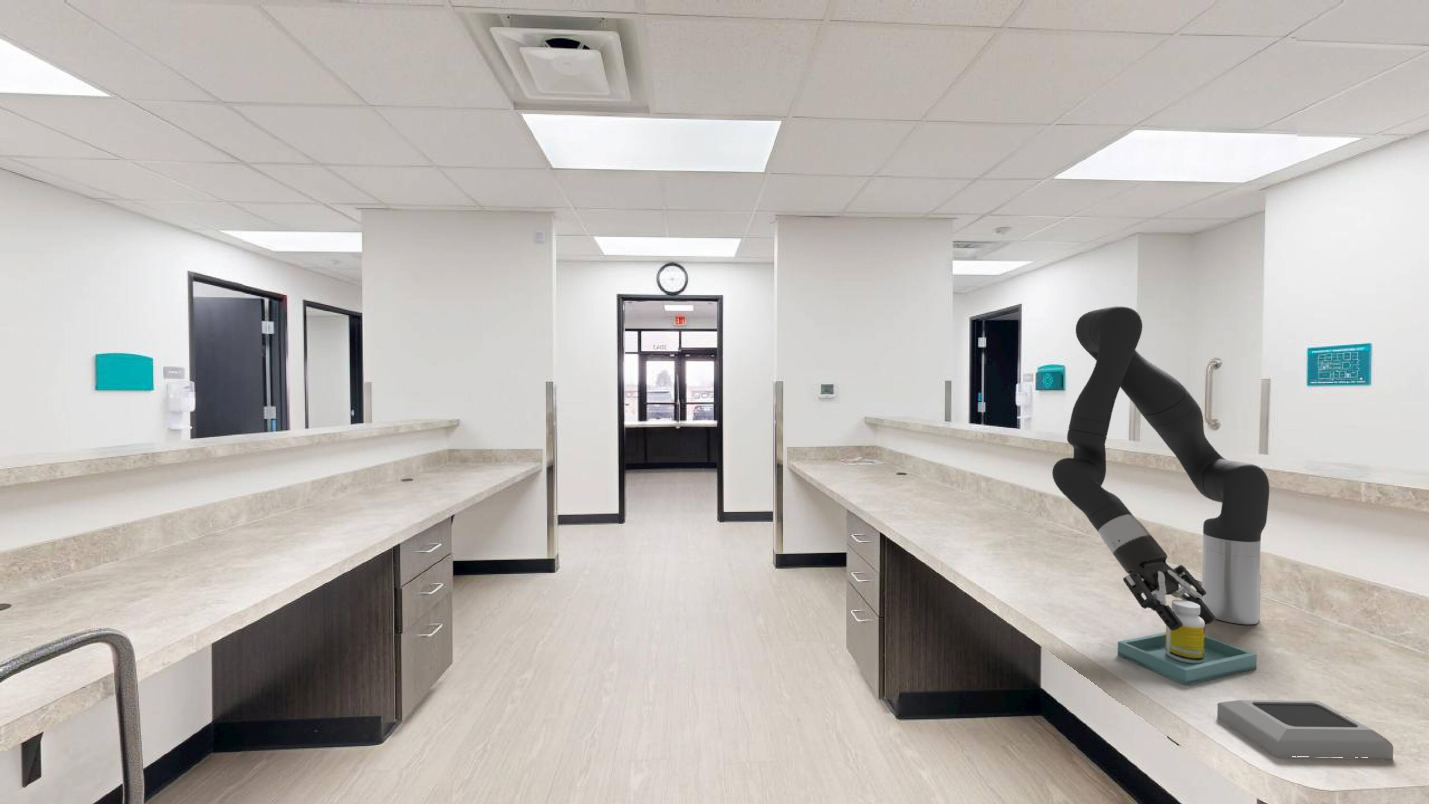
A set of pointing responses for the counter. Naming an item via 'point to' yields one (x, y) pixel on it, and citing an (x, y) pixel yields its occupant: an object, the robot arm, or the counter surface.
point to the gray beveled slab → (1303, 729)
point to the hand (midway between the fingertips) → (1194, 625)
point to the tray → (1216, 662)
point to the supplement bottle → (1186, 634)
